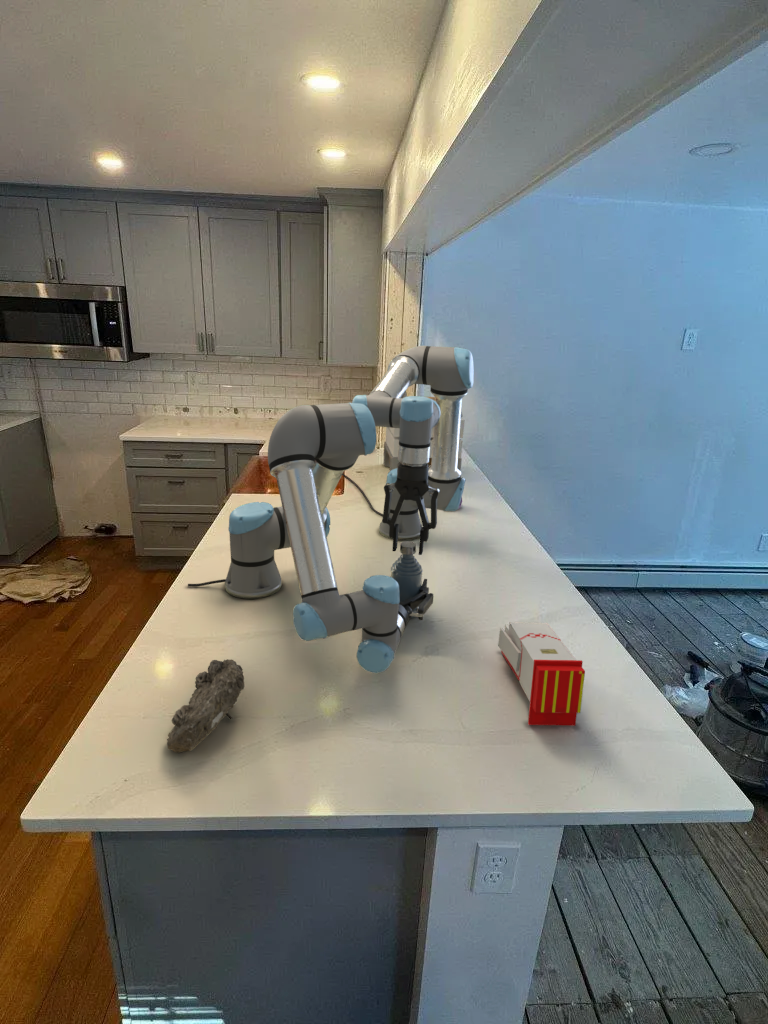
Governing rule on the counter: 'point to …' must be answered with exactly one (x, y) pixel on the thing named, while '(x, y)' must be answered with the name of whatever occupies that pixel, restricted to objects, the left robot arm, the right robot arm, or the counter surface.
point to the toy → (544, 672)
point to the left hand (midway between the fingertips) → (409, 581)
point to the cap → (408, 547)
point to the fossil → (206, 705)
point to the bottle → (407, 576)
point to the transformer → (393, 444)
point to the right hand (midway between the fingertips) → (407, 550)
